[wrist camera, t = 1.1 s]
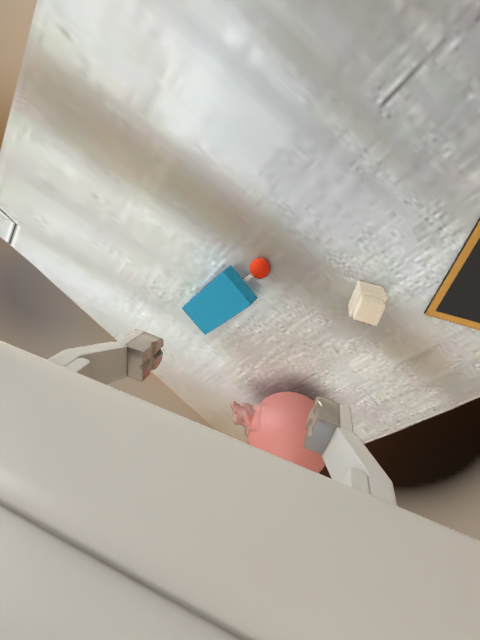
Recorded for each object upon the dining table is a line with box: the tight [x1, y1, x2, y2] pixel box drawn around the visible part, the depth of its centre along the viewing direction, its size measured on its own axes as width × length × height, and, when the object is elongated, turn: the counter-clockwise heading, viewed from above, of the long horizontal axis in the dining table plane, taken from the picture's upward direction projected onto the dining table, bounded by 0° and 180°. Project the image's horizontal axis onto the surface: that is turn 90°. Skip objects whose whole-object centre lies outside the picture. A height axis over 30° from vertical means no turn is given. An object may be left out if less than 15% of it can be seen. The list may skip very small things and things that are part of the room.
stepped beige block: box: [348, 281, 388, 326], centre depth 41 cm, size 4×4×7 cm
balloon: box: [230, 391, 325, 473], centre depth 50 cm, size 15×20×15 cm
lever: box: [182, 258, 270, 335], centre depth 49 cm, size 7×7×18 cm
